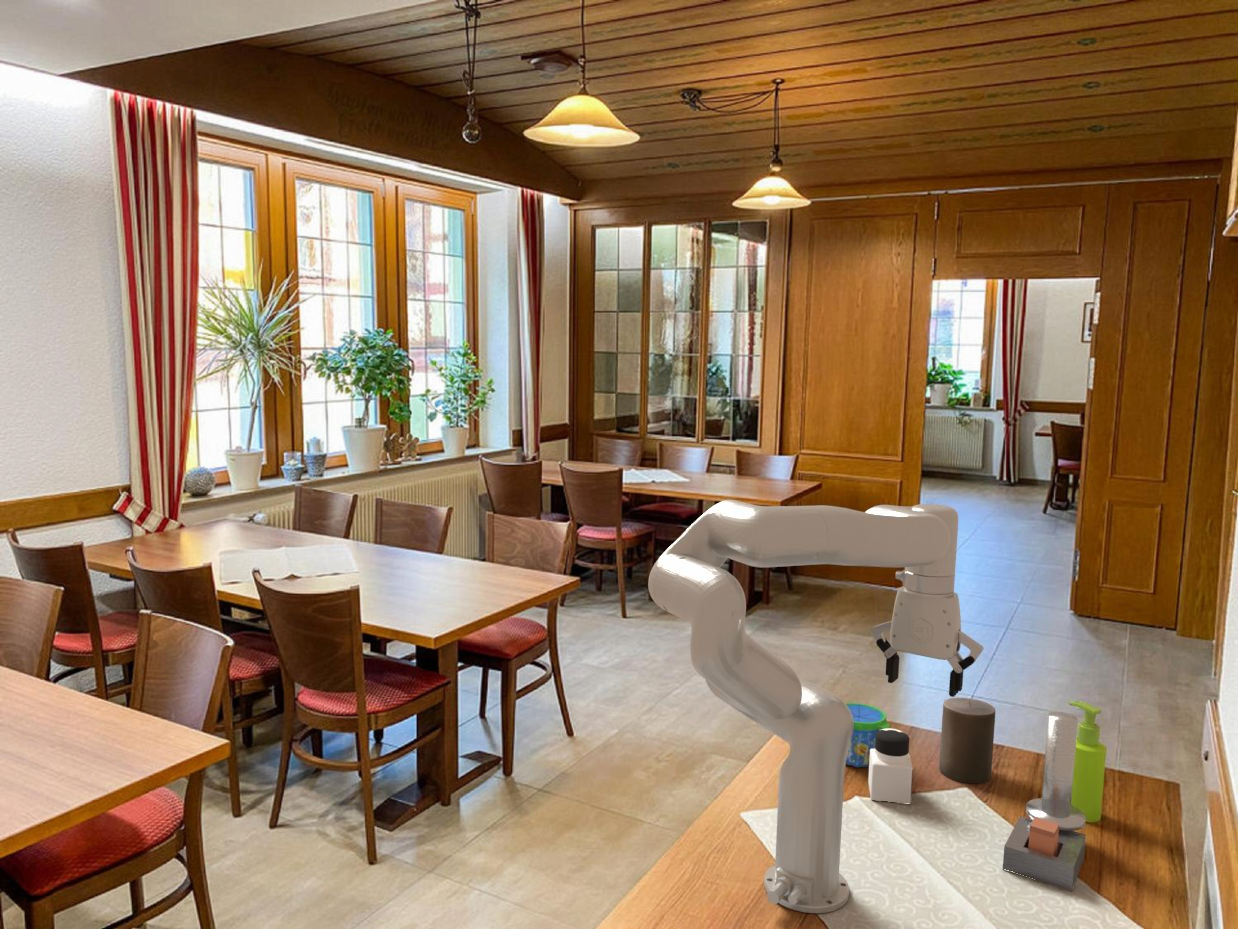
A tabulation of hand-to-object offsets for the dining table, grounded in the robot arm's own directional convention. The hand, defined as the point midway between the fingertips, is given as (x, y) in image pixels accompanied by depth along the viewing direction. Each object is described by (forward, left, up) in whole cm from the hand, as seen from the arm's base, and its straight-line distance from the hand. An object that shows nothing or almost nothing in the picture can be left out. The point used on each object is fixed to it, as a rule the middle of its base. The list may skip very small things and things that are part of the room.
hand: (922, 687), depth 144 cm
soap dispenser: (+32, -20, -28) cm, 47 cm away
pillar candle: (+36, +1, -28) cm, 46 cm away
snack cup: (+28, +20, -28) cm, 45 cm away
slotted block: (+13, -18, -28) cm, 36 cm away
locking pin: (+8, -18, -28) cm, 34 cm away
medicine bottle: (+18, +10, -28) cm, 35 cm away
